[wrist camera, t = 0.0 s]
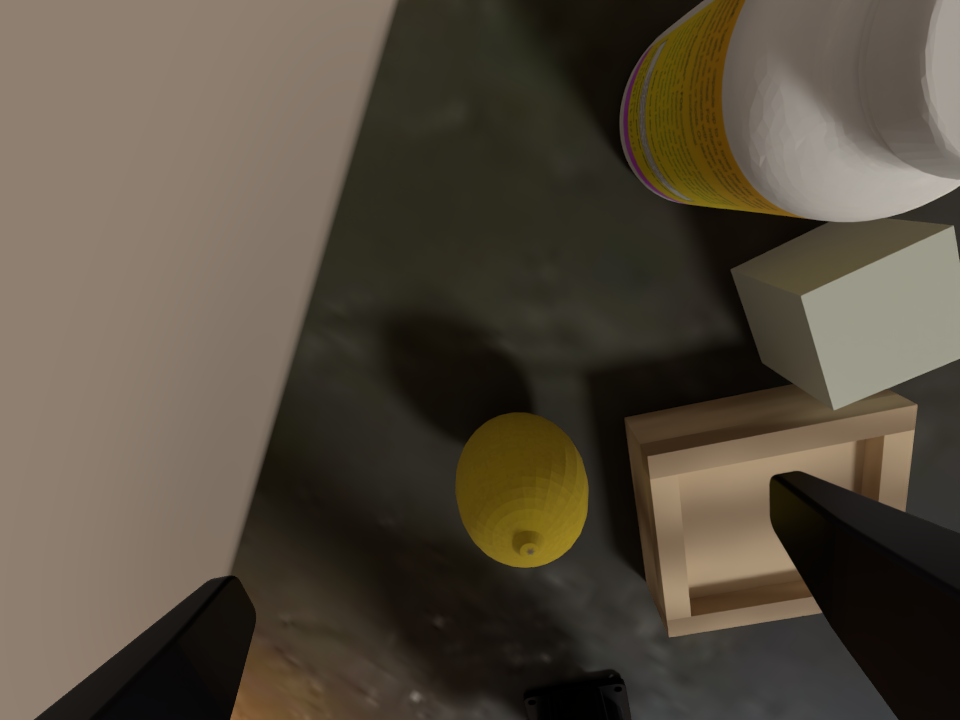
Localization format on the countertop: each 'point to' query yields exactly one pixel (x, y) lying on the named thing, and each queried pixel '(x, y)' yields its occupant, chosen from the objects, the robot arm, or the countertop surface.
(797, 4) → the supplement bottle
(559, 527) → the lemon
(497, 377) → the countertop surface
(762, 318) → the ceramic cube
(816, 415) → the square tray
